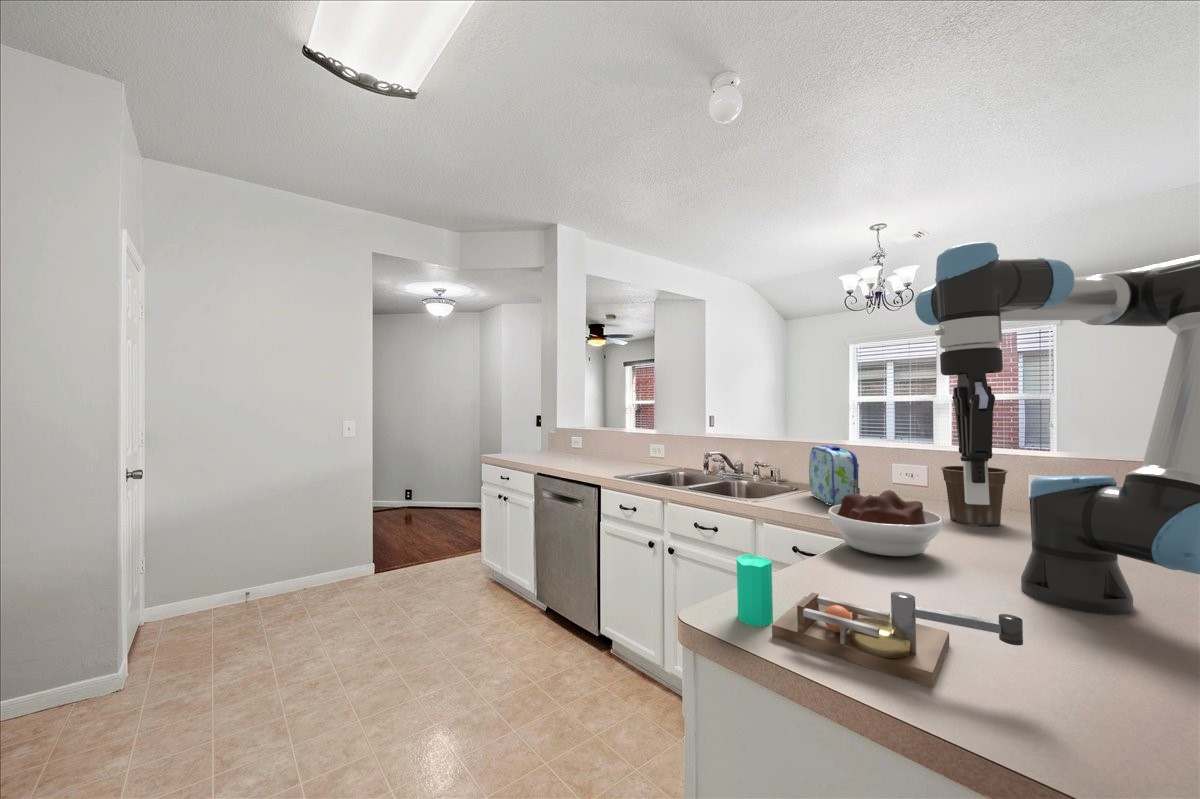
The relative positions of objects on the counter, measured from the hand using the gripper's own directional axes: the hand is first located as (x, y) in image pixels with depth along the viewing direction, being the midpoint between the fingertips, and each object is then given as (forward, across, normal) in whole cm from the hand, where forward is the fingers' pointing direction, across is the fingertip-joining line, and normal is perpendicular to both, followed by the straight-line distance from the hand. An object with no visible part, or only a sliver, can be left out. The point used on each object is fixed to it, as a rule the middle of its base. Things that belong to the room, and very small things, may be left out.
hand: (977, 503), depth 74 cm
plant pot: (+24, -91, +18) cm, 96 cm away
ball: (+20, +6, -20) cm, 29 cm away
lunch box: (+24, -108, -20) cm, 112 cm away
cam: (+20, +10, -9) cm, 24 cm away
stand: (+22, +4, -17) cm, 28 cm away
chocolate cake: (+23, -49, -9) cm, 55 cm away
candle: (+22, +2, -33) cm, 40 cm away
